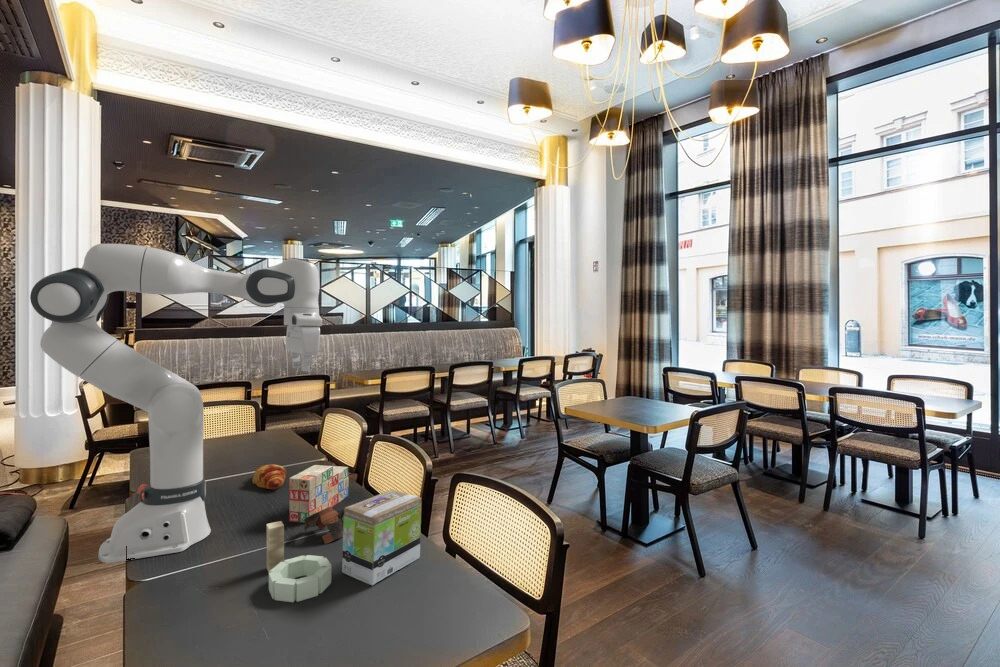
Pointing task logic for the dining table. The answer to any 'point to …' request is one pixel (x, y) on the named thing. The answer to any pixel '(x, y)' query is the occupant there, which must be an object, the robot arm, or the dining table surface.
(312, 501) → the stack of blocks
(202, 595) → the dining table surface
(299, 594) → the sage ring
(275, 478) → the croissant
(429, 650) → the dining table surface
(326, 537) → the pottery mug
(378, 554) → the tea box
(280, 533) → the wooden block
